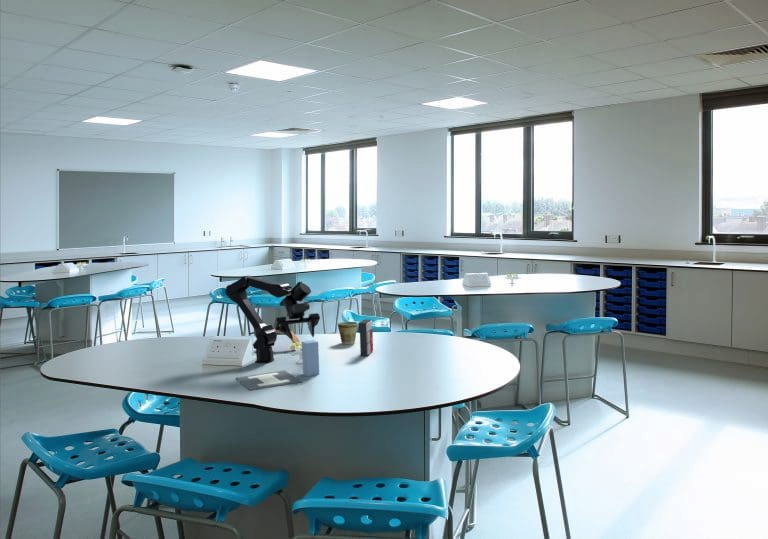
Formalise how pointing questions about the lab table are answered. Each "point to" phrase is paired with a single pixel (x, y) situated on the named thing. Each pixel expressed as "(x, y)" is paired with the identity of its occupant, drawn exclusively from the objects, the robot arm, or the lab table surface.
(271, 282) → the robot arm
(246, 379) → the letter mat
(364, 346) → the black and red box
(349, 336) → the ceramic cup
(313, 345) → the blue block
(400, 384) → the lab table surface
